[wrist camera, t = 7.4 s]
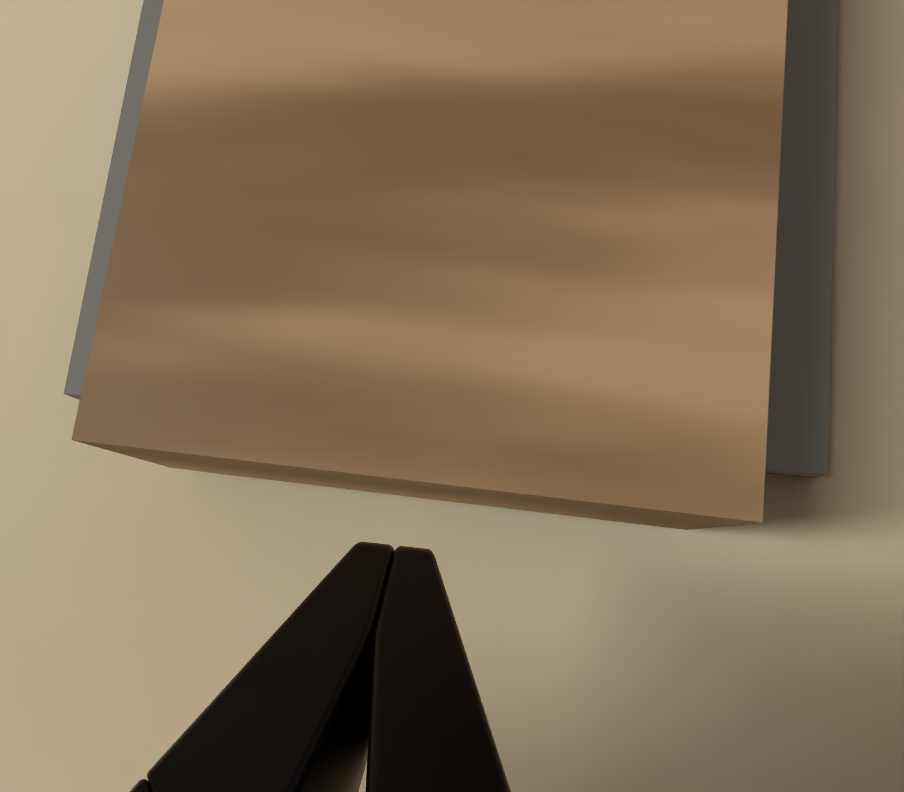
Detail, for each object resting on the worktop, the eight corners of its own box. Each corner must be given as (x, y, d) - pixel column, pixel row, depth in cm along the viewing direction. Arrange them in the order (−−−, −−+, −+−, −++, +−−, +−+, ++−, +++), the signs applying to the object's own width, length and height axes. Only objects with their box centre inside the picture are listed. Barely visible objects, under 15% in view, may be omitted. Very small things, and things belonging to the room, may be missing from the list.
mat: (814, 477, 16) (827, 474, 15) (78, 398, 17) (64, 393, 16) (830, -163, 19) (842, -186, 18) (199, -211, 19) (191, -235, 19)
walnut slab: (762, 523, 11) (800, -243, 14) (71, 439, 12) (224, -290, 14) (686, 529, 15) (725, -66, 18) (170, 467, 16) (277, -108, 18)
